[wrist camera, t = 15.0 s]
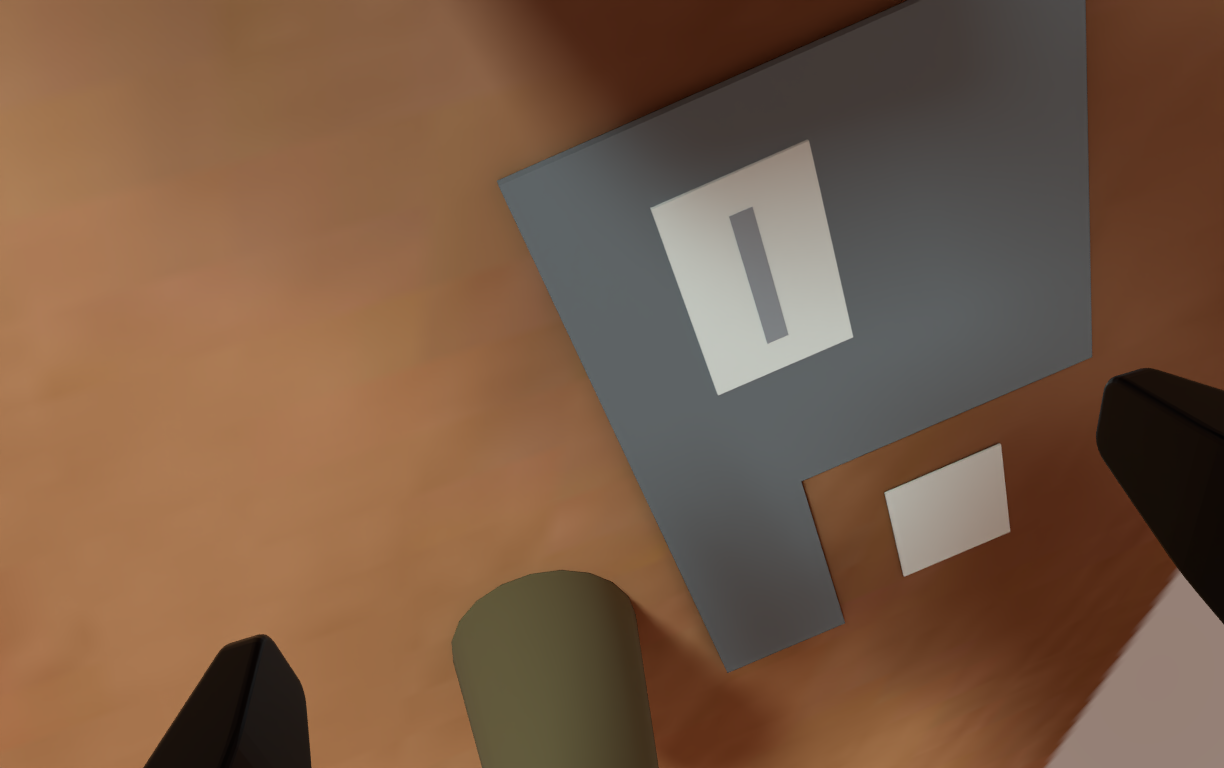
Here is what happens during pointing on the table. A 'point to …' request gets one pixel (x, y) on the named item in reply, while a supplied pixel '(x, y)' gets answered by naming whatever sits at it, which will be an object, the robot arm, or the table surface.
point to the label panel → (826, 286)
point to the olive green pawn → (555, 675)
